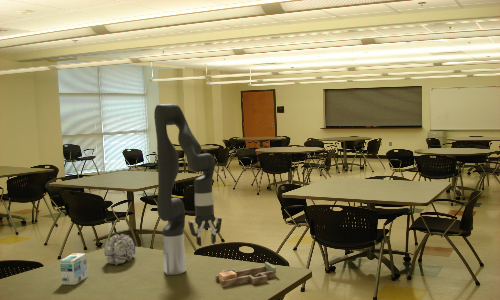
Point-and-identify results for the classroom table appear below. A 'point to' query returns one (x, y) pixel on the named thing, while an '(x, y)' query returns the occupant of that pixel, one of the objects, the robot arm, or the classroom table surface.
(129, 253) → the educational model
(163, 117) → the robot arm
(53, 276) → the classroom table surface
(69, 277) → the light bulb box
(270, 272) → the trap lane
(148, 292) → the classroom table surface
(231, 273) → the block
